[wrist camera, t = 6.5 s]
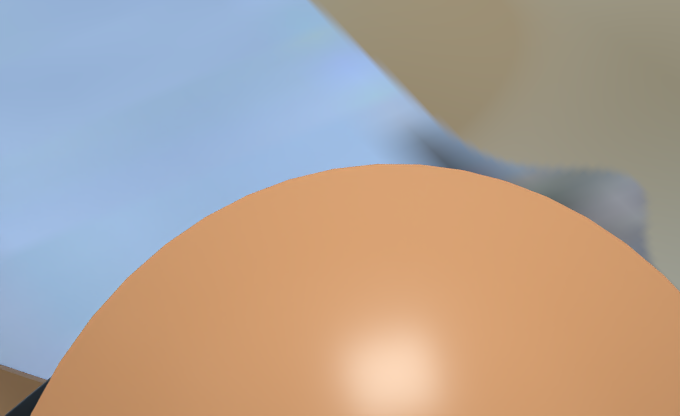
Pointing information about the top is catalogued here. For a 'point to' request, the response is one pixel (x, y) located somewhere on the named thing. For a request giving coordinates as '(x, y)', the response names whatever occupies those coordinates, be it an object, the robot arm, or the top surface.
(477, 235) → the container with domed lid
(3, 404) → the thin square board
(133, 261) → the top surface
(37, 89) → the top surface
